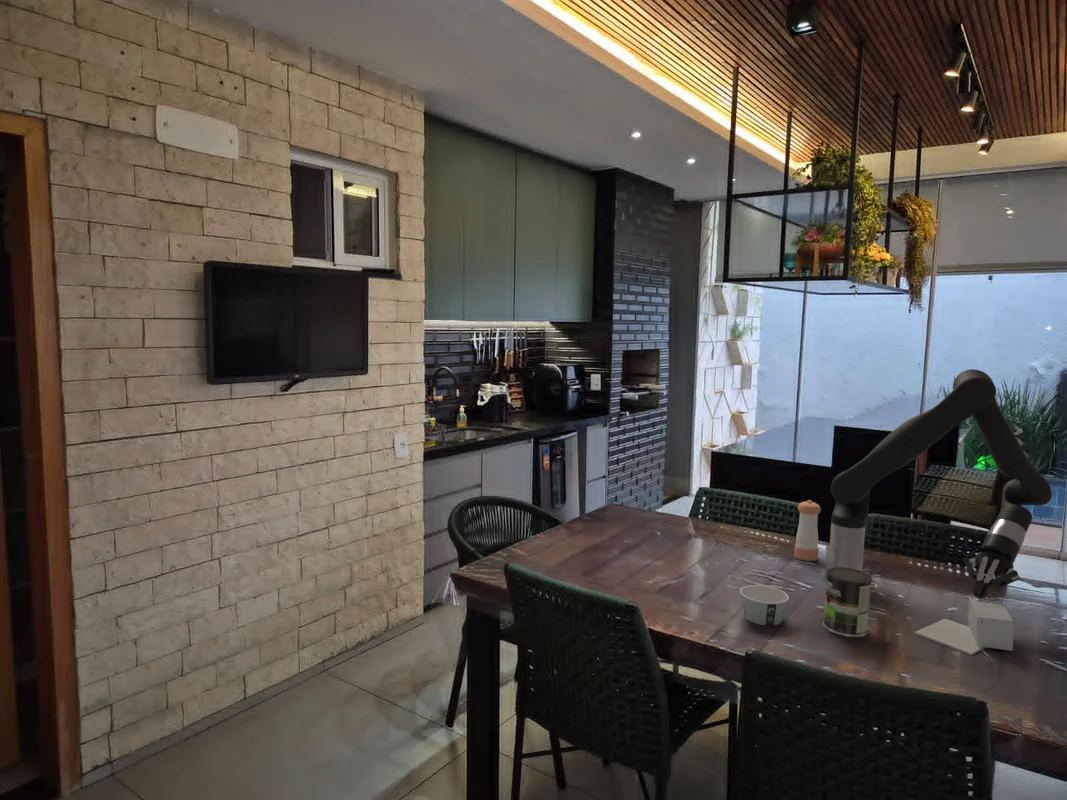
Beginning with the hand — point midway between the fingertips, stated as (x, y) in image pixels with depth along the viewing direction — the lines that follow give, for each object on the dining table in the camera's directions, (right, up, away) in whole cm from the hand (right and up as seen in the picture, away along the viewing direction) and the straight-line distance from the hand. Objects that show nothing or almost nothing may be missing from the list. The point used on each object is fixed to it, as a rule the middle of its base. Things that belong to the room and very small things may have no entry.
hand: (977, 596), depth 172 cm
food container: (-52, -7, +5) cm, 53 cm away
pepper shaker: (-22, -2, +53) cm, 58 cm away
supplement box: (+2, -4, 0) cm, 5 cm away
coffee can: (-33, -8, 0) cm, 34 cm away
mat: (-8, -9, -4) cm, 12 cm away
